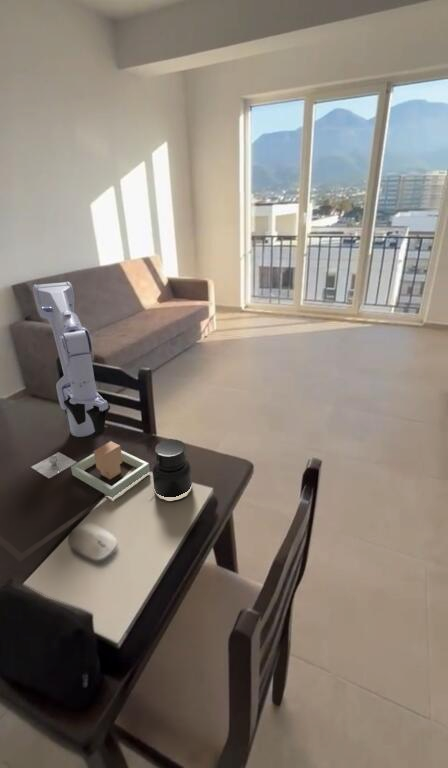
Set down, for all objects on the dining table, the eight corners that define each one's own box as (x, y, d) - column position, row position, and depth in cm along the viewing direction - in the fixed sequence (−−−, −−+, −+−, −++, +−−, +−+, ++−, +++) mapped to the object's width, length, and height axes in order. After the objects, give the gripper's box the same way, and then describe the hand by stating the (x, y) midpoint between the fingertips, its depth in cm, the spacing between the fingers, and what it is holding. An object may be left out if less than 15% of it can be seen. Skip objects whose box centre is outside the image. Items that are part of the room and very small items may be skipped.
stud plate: (59, 455, 105) (57, 444, 104) (77, 465, 101) (75, 454, 99) (31, 470, 99) (28, 458, 98) (49, 481, 95) (46, 470, 94)
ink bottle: (192, 475, 97) (189, 434, 92) (195, 499, 89) (193, 456, 84) (152, 480, 95) (148, 439, 90) (152, 505, 87) (147, 461, 82)
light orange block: (98, 477, 95) (93, 451, 92) (115, 466, 99) (111, 441, 96) (107, 482, 94) (102, 455, 90) (123, 471, 97) (120, 445, 94)
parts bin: (110, 455, 105) (109, 444, 103) (150, 474, 97) (148, 463, 96) (73, 478, 96) (70, 466, 95) (113, 501, 88) (111, 489, 87)
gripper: (49, 377, 95) (60, 425, 101) (87, 392, 88) (95, 443, 93) (74, 368, 101) (83, 414, 106) (111, 381, 93) (118, 430, 99)
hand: (90, 427), depth 100 cm, fingers open, 7 cm apart
